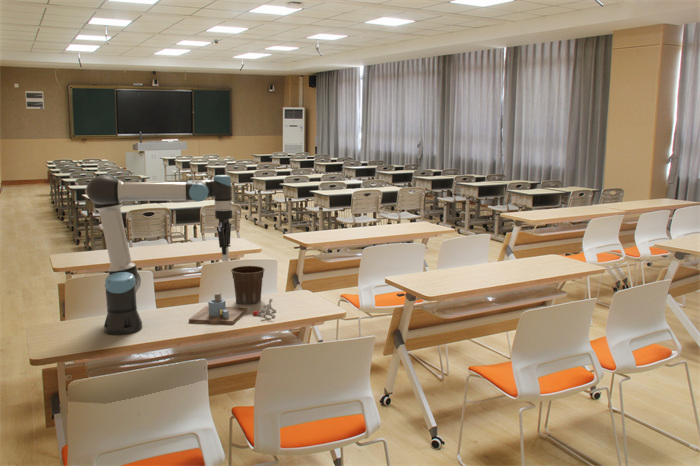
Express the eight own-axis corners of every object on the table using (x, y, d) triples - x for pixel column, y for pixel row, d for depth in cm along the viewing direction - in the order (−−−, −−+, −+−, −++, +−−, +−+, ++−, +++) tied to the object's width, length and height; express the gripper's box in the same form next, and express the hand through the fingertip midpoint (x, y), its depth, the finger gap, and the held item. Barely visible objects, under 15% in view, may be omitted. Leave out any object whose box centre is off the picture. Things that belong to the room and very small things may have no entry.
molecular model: (255, 328, 264) (276, 320, 264) (248, 313, 262) (270, 305, 262) (257, 316, 278) (277, 309, 278) (251, 301, 276) (271, 294, 276)
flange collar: (206, 313, 267) (206, 300, 266) (220, 310, 271) (219, 297, 270) (220, 319, 258) (219, 306, 257) (233, 316, 263) (233, 303, 262)
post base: (188, 322, 259) (187, 299, 257) (205, 309, 279) (204, 287, 277) (232, 324, 256) (231, 301, 255) (246, 310, 276) (246, 289, 274)
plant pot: (266, 296, 300) (265, 265, 298) (264, 305, 285) (263, 272, 282) (234, 296, 299) (233, 265, 297) (230, 306, 284) (228, 273, 281)
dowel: (219, 317, 261) (219, 310, 260) (220, 316, 262) (220, 309, 261) (222, 317, 261) (221, 310, 260) (222, 317, 262) (222, 309, 261)
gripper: (226, 211, 258) (228, 264, 262) (236, 208, 271) (238, 258, 275) (210, 211, 259) (212, 264, 263) (220, 207, 272) (222, 257, 276)
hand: (225, 261), depth 269 cm, fingers closed
